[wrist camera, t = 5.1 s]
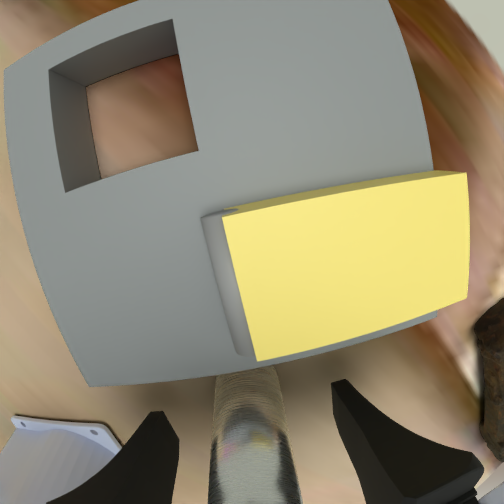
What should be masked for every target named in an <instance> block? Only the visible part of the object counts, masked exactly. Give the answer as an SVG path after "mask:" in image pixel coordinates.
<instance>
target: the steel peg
mask: <svg viewBox="0 0 504 504" xmlns="http://www.w3.org/2000/svg"><path fill="white" fill-rule="evenodd" d="M208 504H303V502H302V497H301V491H300V486H299V481H298V476H297V471H296V466H295V461H294V456H293V450H292V445H291V440H290V435H289V430H288V425H287V420H286V415H285V409H284V404H283V399H282V394H281V389H280V384H279V379H278V374H277V372H276V370H275V368H274V367H273V366H272V365H269V366H264V367H259V368H254V369H249V370H243V371H238V372H232V373H226V374H220V375H217V376H216V385H215V398H214V411H213V425H212V440H211V456H210V473H209V491H208Z"/></svg>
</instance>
